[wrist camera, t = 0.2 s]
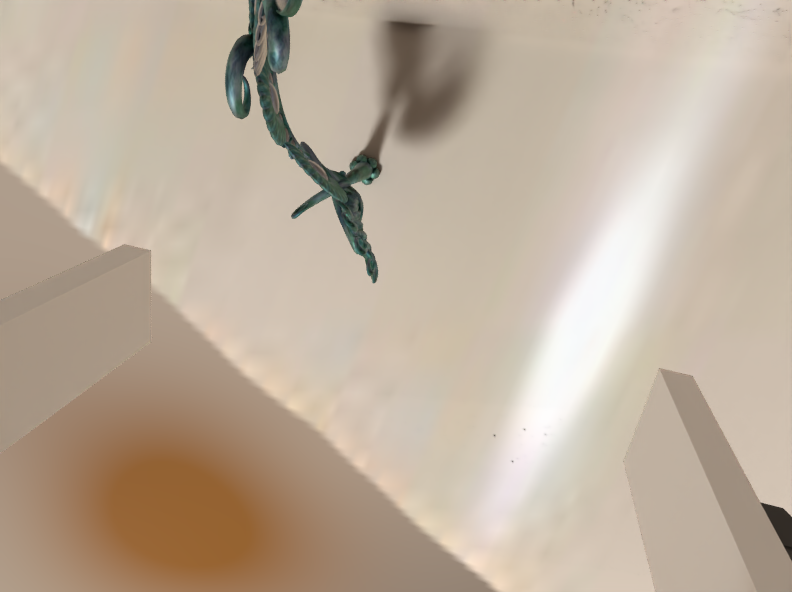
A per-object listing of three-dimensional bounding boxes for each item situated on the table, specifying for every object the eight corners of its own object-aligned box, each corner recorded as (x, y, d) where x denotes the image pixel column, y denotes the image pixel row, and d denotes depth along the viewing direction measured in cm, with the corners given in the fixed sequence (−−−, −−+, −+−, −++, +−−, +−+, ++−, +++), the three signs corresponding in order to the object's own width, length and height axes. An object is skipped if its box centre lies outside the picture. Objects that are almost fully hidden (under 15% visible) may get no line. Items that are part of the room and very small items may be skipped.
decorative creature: (369, -256, 31) (125, -762, 12) (547, -206, 30) (585, -663, 11) (275, 194, 41) (59, 302, 22) (407, 240, 40) (302, 393, 21)
